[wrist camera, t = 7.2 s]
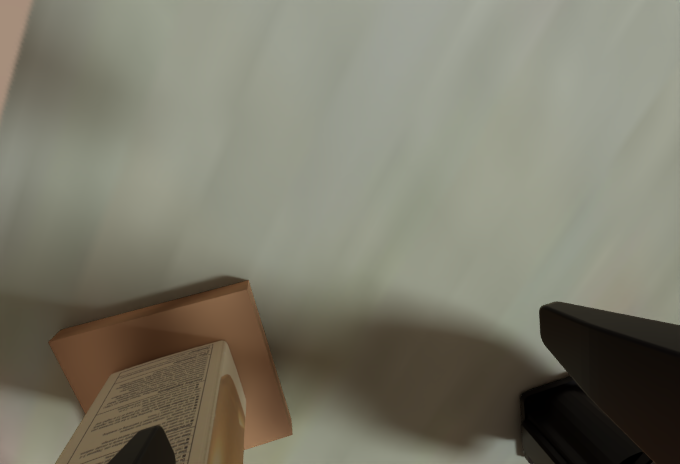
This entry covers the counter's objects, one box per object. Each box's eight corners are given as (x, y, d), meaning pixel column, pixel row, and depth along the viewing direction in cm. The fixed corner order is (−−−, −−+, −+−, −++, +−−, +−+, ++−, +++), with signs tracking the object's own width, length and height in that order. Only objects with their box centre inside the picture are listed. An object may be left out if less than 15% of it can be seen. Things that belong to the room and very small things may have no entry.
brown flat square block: (249, 275, 22) (247, 289, 20) (290, 411, 25) (292, 434, 23) (68, 322, 20) (48, 342, 19) (135, 458, 23) (123, 488, 22)
